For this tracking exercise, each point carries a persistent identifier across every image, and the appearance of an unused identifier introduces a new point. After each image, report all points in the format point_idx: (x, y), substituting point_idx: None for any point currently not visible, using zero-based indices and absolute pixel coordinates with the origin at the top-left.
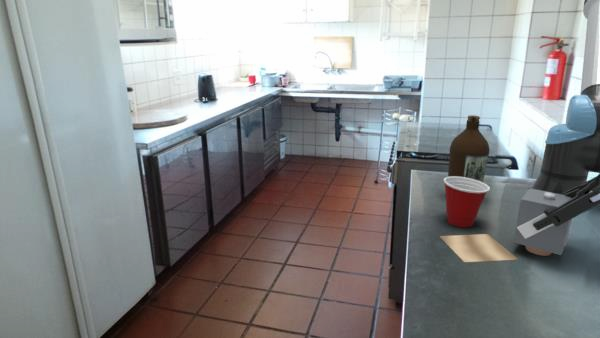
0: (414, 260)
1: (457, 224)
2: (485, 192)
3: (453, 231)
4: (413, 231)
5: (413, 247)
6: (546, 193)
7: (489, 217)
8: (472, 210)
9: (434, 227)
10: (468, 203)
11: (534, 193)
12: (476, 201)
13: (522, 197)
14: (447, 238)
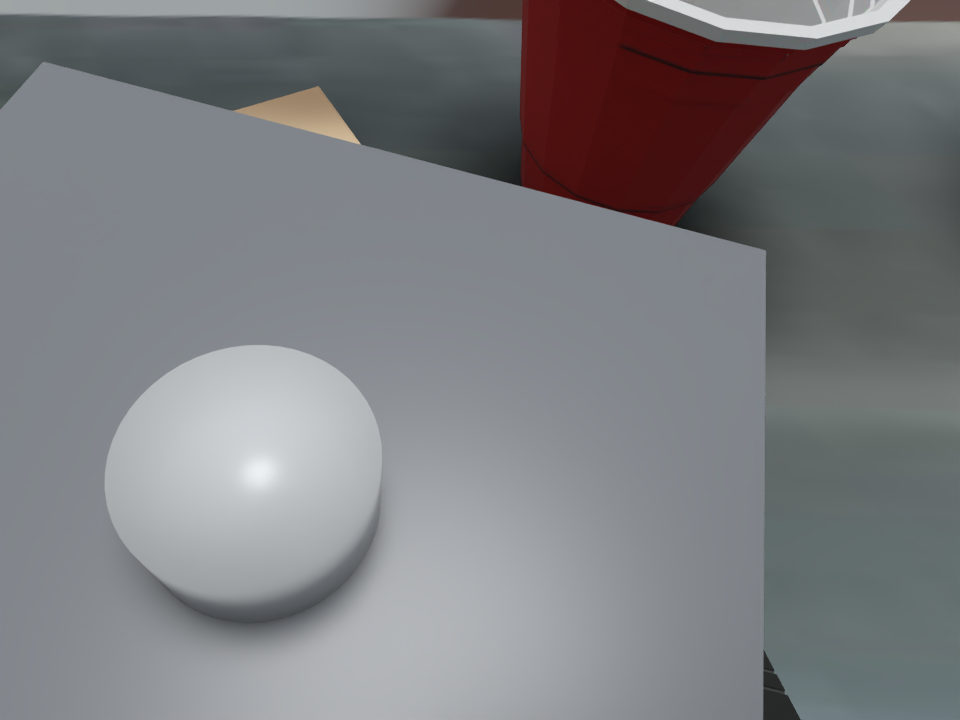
0: (27, 25)
1: (521, 155)
2: (624, 4)
3: (496, 175)
4: (391, 20)
5: (186, 21)
6: (245, 380)
7: (880, 370)
8: (554, 115)
9: (500, 96)
10: (535, 27)
11: (484, 280)
12: (578, 55)
13: (148, 90)
14: (301, 119)
